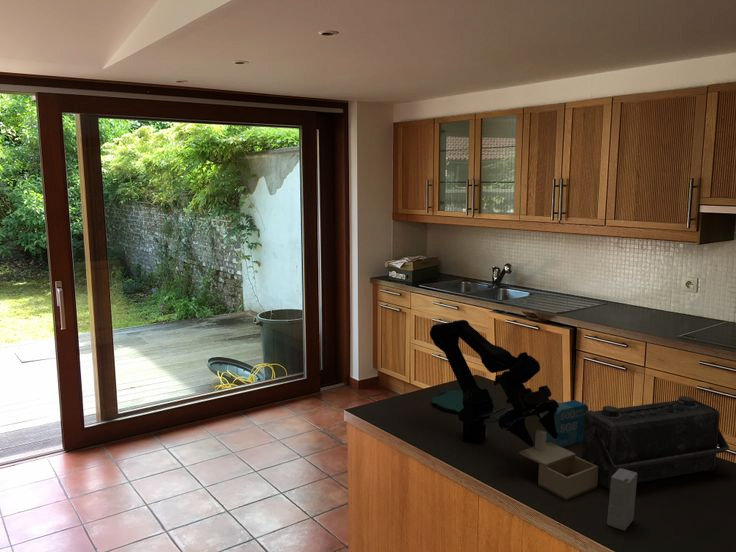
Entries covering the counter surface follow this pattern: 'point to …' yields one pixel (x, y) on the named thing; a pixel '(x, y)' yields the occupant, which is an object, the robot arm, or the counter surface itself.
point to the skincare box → (622, 499)
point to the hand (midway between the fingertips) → (544, 442)
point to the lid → (546, 451)
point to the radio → (653, 439)
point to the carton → (568, 477)
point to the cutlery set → (456, 402)
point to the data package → (569, 423)
